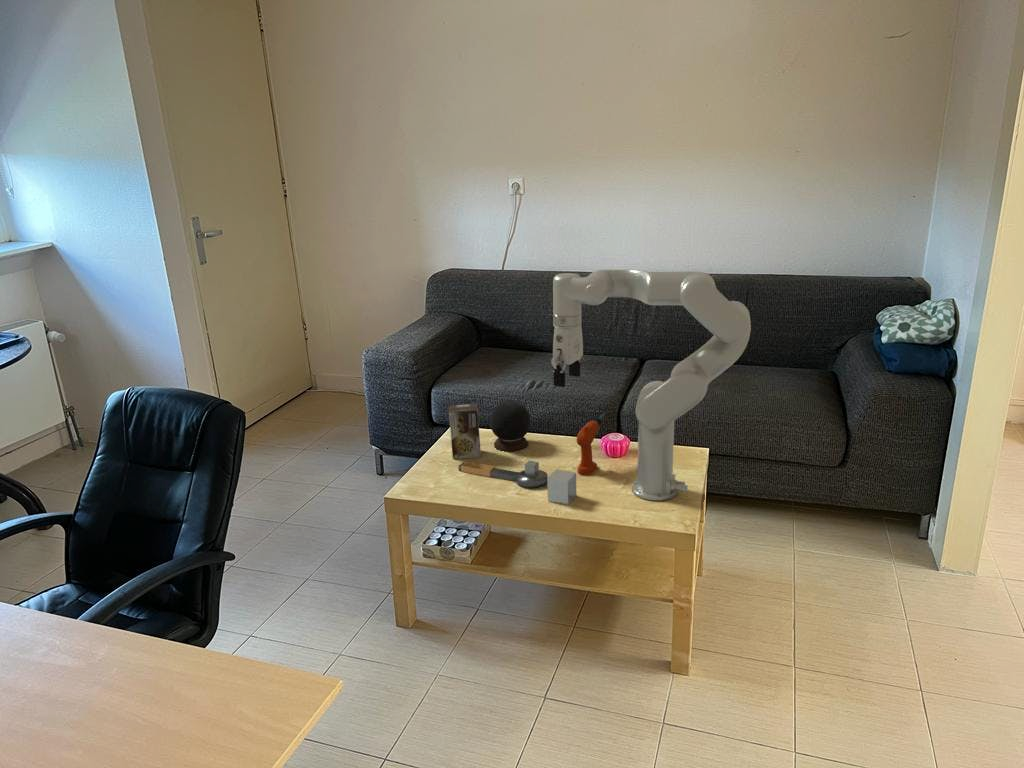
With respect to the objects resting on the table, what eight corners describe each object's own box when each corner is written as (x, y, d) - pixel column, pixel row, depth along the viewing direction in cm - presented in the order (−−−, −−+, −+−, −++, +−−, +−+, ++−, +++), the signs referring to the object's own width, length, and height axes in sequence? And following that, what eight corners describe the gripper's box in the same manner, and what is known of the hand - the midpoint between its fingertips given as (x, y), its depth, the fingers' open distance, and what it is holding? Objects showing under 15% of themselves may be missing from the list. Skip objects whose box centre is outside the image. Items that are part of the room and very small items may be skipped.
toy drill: (613, 448, 228) (611, 406, 222) (589, 479, 214) (586, 434, 208) (599, 446, 231) (597, 403, 224) (574, 476, 216) (571, 432, 210)
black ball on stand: (524, 455, 230) (522, 410, 225) (485, 451, 234) (482, 407, 229) (536, 439, 242) (535, 397, 237) (499, 435, 246) (497, 394, 241)
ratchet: (552, 478, 213) (552, 459, 211) (539, 491, 206) (539, 471, 204) (468, 463, 226) (467, 445, 224) (453, 474, 218) (452, 456, 216)
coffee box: (480, 449, 236) (477, 402, 230) (480, 457, 229) (478, 409, 224) (452, 451, 235) (448, 404, 230) (451, 459, 229) (448, 411, 224)
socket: (576, 495, 202) (576, 472, 200) (568, 505, 197) (567, 481, 195) (556, 491, 205) (556, 469, 203) (547, 501, 200) (547, 477, 198)
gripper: (566, 329, 186) (566, 392, 191) (593, 314, 200) (592, 374, 205) (540, 326, 189) (540, 388, 195) (568, 312, 203) (568, 370, 209)
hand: (567, 380), depth 200 cm, fingers open, 9 cm apart
